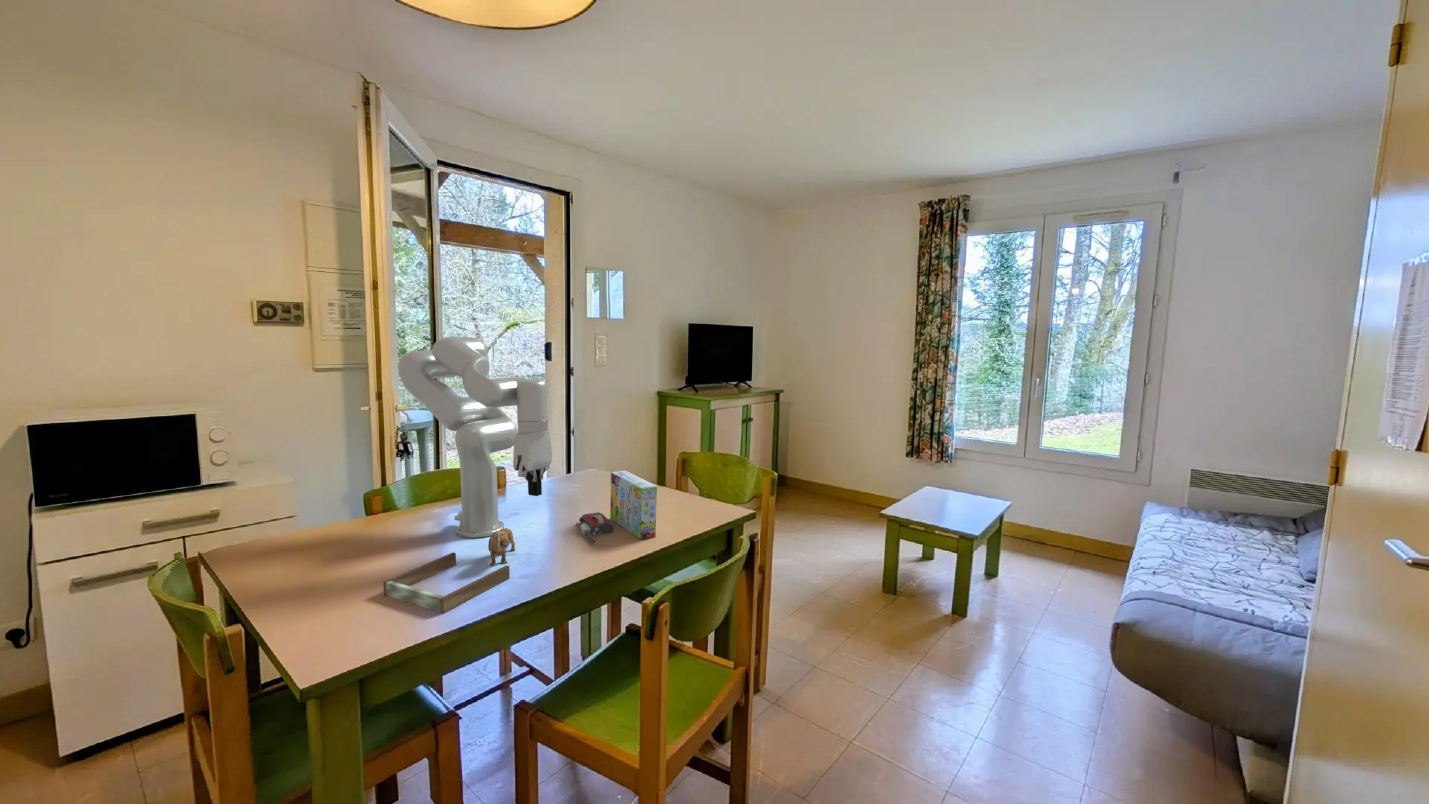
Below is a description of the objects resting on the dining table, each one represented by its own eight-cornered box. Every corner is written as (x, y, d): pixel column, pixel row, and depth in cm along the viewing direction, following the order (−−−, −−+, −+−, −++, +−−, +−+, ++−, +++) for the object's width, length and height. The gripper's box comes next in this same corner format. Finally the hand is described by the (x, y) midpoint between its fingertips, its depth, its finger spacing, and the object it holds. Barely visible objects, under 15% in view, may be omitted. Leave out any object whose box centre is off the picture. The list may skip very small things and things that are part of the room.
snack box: (657, 537, 157) (658, 485, 155) (639, 540, 154) (640, 488, 152) (625, 516, 174) (625, 469, 173) (608, 519, 171) (608, 471, 169)
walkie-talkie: (572, 524, 167) (590, 547, 149) (572, 510, 166) (590, 531, 149) (601, 520, 171) (622, 542, 153) (601, 506, 170) (622, 526, 153)
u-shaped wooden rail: (383, 594, 119) (383, 581, 119) (453, 564, 136) (452, 552, 135) (444, 613, 112) (443, 599, 112) (509, 578, 129) (509, 566, 128)
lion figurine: (510, 569, 134) (509, 533, 132) (486, 571, 132) (485, 535, 131) (516, 546, 148) (516, 514, 147) (495, 548, 146) (494, 515, 145)
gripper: (541, 421, 153) (543, 486, 155) (500, 429, 140) (503, 500, 142) (563, 423, 150) (564, 489, 152) (523, 432, 137) (526, 504, 139)
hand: (535, 494), depth 147 cm, fingers closed
